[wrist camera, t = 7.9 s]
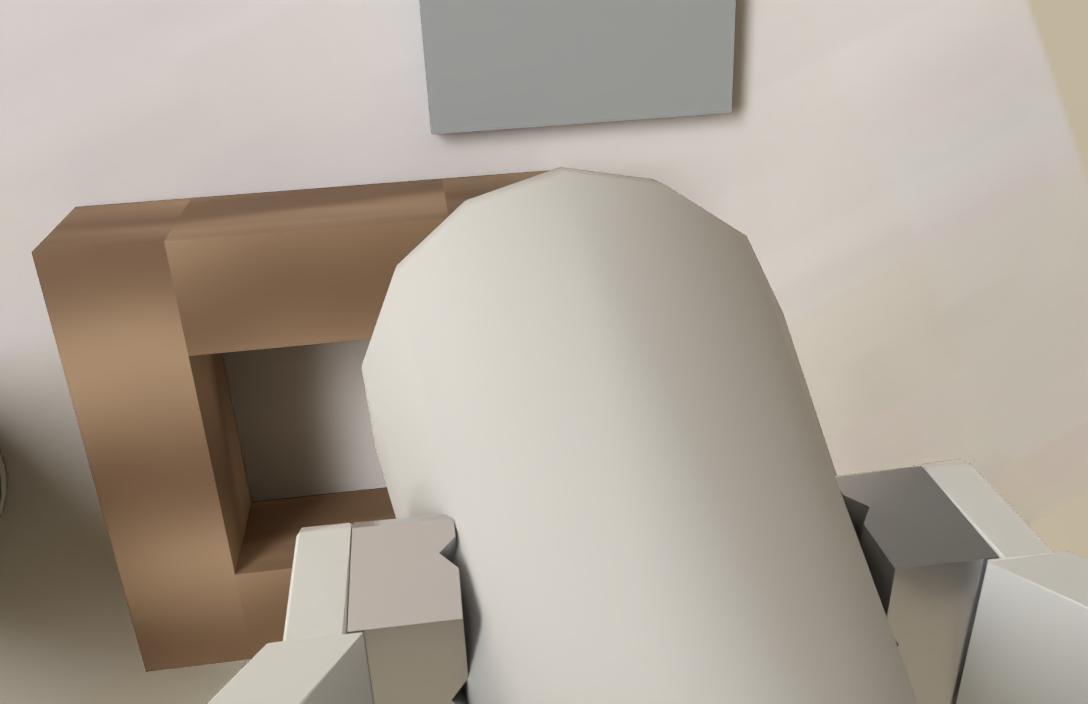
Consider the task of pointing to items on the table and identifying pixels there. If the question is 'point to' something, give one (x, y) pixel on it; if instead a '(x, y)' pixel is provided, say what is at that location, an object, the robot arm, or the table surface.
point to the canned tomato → (2, 484)
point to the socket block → (216, 382)
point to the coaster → (574, 61)
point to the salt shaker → (621, 457)
